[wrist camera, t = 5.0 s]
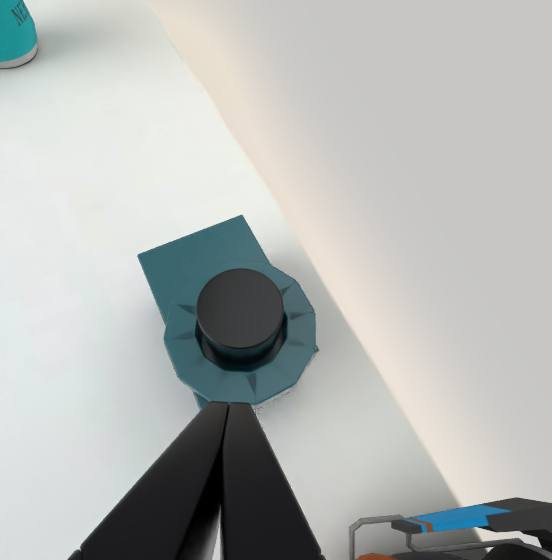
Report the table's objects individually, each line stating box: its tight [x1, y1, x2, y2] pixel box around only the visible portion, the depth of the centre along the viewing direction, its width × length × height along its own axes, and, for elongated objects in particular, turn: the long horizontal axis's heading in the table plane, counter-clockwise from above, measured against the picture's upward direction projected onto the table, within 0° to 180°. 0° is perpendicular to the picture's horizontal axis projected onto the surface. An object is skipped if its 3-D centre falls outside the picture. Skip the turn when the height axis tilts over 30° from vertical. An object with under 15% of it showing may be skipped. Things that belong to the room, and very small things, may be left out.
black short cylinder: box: [196, 268, 284, 365], centre depth 13 cm, size 3×3×3 cm
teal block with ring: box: [137, 215, 319, 410], centre depth 18 cm, size 9×6×7 cm, turn 27°
